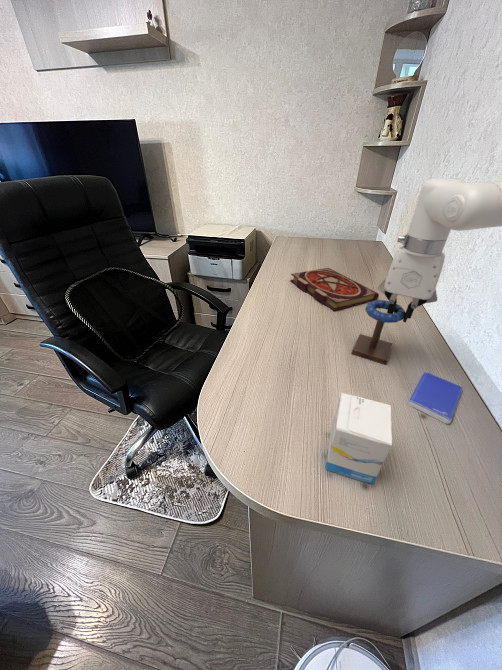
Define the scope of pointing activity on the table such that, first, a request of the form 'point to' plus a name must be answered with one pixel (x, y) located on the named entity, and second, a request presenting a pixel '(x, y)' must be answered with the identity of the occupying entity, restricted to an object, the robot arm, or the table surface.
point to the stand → (373, 346)
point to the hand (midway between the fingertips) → (397, 317)
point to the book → (333, 288)
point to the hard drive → (436, 397)
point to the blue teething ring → (384, 317)
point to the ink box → (359, 438)
